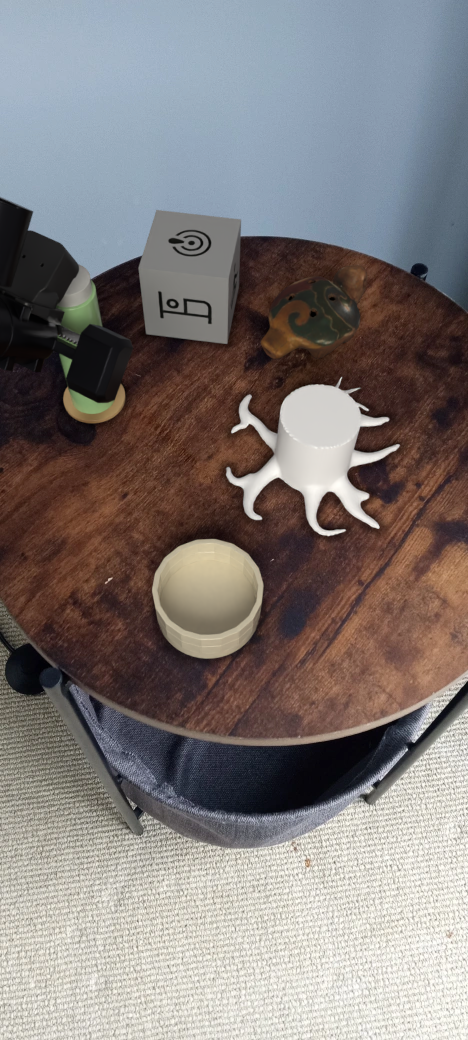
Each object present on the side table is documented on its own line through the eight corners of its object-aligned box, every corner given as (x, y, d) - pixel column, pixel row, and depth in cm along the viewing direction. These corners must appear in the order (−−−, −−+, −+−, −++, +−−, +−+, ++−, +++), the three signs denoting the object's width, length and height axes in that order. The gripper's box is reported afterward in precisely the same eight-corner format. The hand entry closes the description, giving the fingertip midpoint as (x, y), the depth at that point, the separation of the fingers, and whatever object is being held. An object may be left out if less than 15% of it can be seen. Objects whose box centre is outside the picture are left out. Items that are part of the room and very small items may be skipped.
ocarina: (382, 327, 89) (396, 279, 82) (298, 397, 84) (304, 354, 77) (324, 283, 92) (332, 234, 85) (240, 350, 87) (241, 304, 80)
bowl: (167, 669, 66) (164, 651, 62) (148, 573, 71) (143, 550, 67) (271, 646, 68) (275, 626, 63) (245, 553, 73) (247, 529, 68)
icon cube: (146, 334, 88) (138, 267, 79) (162, 277, 93) (156, 209, 84) (227, 343, 87) (228, 278, 78) (238, 286, 92) (241, 219, 83)
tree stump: (423, 429, 81) (443, 381, 74) (361, 567, 72) (377, 527, 65) (263, 367, 85) (267, 316, 78) (185, 490, 76) (182, 445, 69)
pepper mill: (99, 420, 80) (73, 304, 66) (62, 403, 81) (28, 285, 67) (123, 390, 82) (103, 271, 68) (87, 374, 84) (59, 253, 69)
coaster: (68, 428, 80) (67, 425, 80) (60, 381, 84) (59, 378, 83) (130, 417, 81) (129, 414, 81) (120, 371, 85) (119, 368, 84)
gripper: (106, 273, 56) (188, 298, 70) (-75, 191, 60) (36, 231, 75) (62, 406, 59) (149, 404, 73) (-107, 319, 64) (6, 333, 78)
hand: (84, 340), depth 75 cm, fingers open, 9 cm apart
